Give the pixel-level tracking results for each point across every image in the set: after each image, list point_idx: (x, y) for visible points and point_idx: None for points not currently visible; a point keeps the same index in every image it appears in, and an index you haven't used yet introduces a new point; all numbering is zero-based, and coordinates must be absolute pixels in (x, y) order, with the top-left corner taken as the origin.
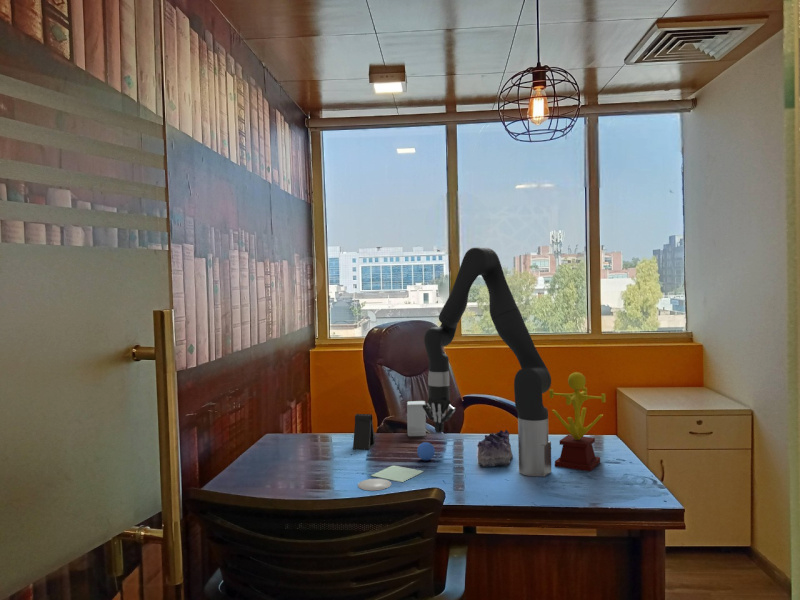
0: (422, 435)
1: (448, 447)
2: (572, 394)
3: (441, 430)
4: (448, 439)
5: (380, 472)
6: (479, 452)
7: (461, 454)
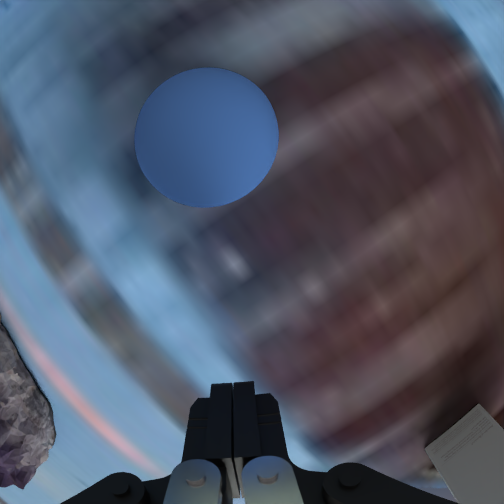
0: (435, 441)
1: None
2: None
3: (192, 406)
4: None
5: None
6: None
7: (121, 357)
